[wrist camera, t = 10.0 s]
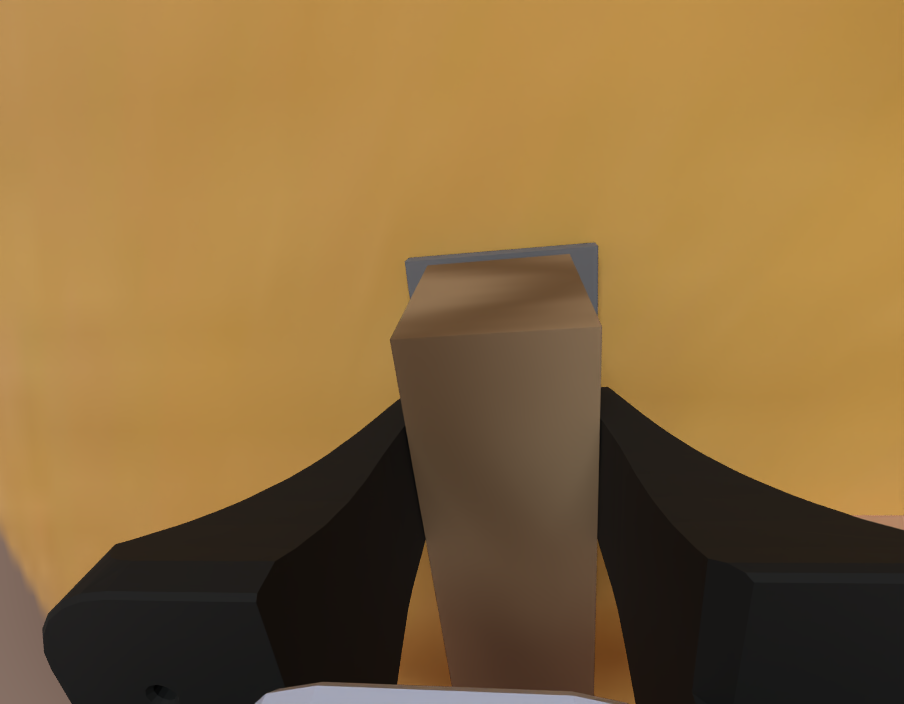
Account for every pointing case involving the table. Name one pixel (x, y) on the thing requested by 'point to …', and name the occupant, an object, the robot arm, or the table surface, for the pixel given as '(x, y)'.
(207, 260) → the table surface
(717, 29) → the table surface
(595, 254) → the mat
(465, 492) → the brown wooden plank
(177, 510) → the table surface
